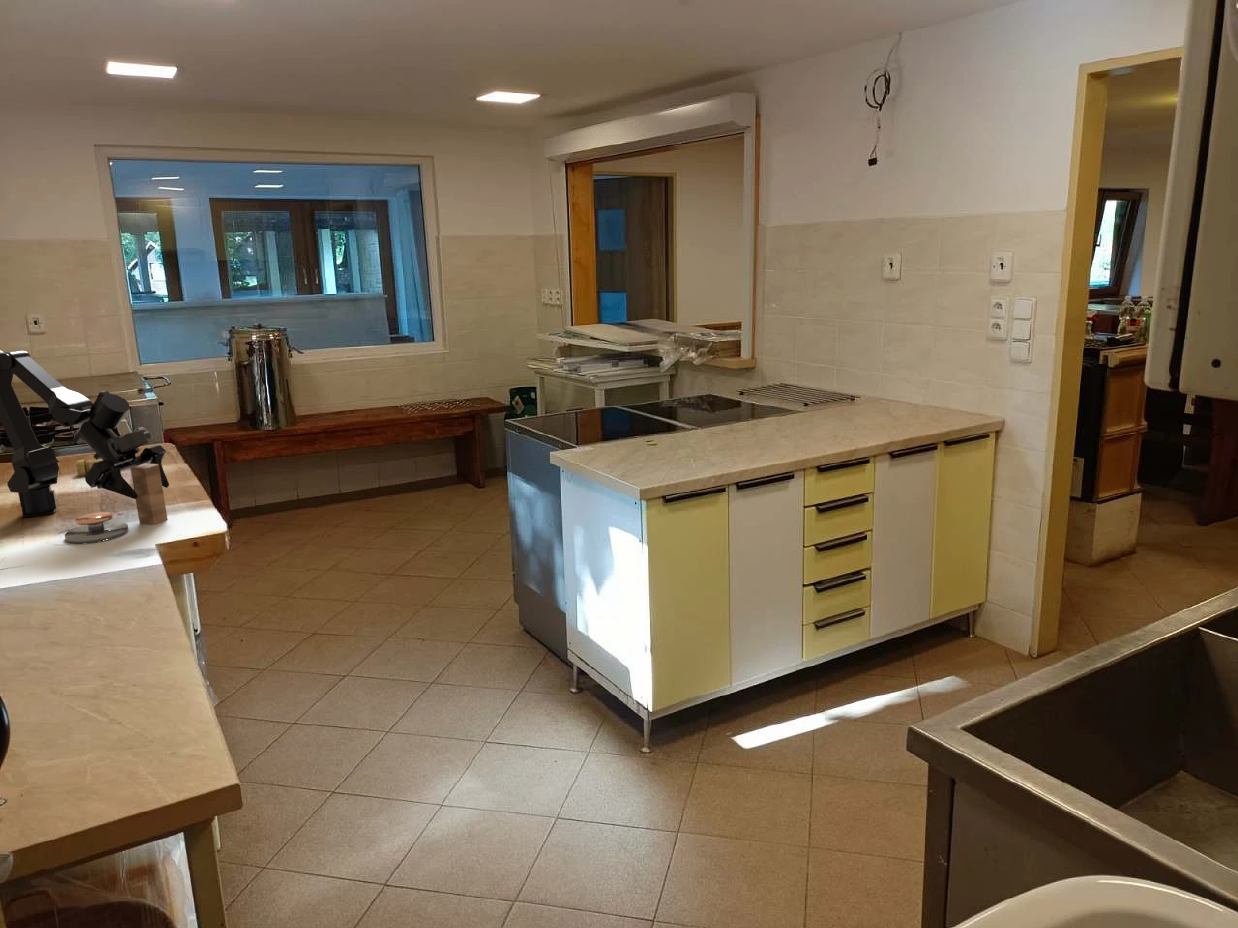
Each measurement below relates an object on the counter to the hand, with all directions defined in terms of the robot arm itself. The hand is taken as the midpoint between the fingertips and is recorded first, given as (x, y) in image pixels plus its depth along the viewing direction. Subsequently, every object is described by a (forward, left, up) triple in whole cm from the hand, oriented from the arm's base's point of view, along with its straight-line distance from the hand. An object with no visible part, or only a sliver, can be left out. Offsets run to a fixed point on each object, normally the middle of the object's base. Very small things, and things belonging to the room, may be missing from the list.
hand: (152, 491), depth 199 cm
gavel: (-13, +69, -8) cm, 71 cm away
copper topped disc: (-12, -3, -7) cm, 14 cm away
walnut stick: (-1, +1, -7) cm, 7 cm away
